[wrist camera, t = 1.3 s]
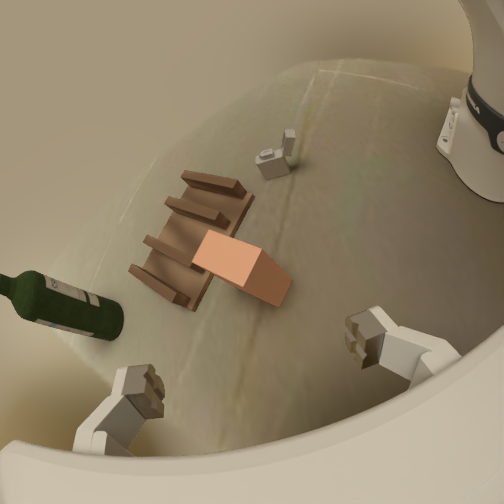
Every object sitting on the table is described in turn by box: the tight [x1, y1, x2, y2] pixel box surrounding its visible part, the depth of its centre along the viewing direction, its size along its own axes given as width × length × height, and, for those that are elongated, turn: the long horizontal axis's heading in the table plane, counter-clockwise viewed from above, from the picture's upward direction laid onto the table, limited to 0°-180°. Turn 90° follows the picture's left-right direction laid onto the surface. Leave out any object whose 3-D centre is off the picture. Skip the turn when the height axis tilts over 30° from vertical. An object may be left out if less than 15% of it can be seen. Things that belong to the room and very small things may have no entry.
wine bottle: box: [0, 271, 123, 341], centre depth 33 cm, size 8×8×30 cm
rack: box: [128, 170, 255, 312], centre depth 43 cm, size 20×14×4 cm
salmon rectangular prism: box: [192, 230, 292, 308], centre depth 32 cm, size 4×7×11 cm, turn 61°
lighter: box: [256, 129, 295, 180], centre depth 39 cm, size 7×2×8 cm, turn 93°
